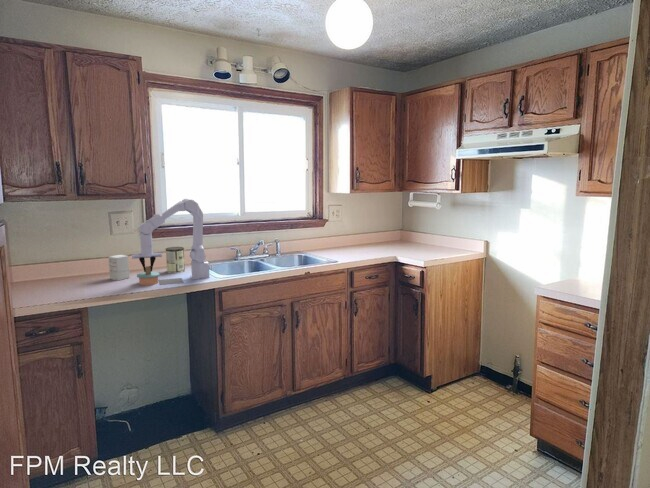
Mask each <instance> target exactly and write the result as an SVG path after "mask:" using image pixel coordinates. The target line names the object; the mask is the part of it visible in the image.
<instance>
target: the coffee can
mask: <svg viewBox="0 0 650 488" xmlns="http://www.w3.org/2000/svg"><path fill="white" fill-rule="evenodd" d="M165 259H166V273H168V274H177V273H183V272H186V270H185V269H186V267H185V248H184V247H183V246H171V247H166V248H165Z"/></svg>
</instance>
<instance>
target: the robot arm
mask: <svg viewBox="0 0 650 488" xmlns="http://www.w3.org/2000/svg"><path fill="white" fill-rule="evenodd" d="M178 212H187V213H189V214H190V215H191V216H192V218H193V219H192V221H193V223H192V227H193V228H192V246H191V251H189V257H190V259H191V262H190V264H191V265H190V267H191V268H190V269H191V270H190V271H191V275H189V276H190V278H191V280H198V279H200V280H201V279H209V278H210V264H209V261H208V260H207V261H205V260H206V257H207V255H206V253H205V248H204V244H203V242H204V241H203V240H204V239H203V238H204V237H203V236H204V234H203V233H204V213H203V211H202V209H201V208H200V205H199V203H198V202H196V201H195V200H193V199H189V198H183V199H182V200H181V201H178V202H176V203H175V204H174V205H173V206H171V207H170V208H168V209H166V210H165V211H164V212H162V213H157V214H155V213H154V214H153V216H152V217H150V218H149V219H148V220H147V219H146V220H145V222H142V223H140V224H139V226H138V228H137V229H138V231H139V232H140V233H139V236H140V238H139V239H140V253H135V254H131V259H132V260H136V259H139V262H140V263H141V265H142V268H143V272H146V269H145V266H146V261H145V259H148V258H149V260H150V263H149V264H150V265H149V266H150V267H151V272H153V267H154V263H155V262H156V258H162V257H163V253H162V252H154V250H153V249H154V247H153V245H154V244H153V236H152V233H153V231H154V230H156V229H157V228H159V227H160V226H161V225H164V224H165V222H166V219H168V218H170V217H171V216H173V215H175V214H176V213H178Z"/></svg>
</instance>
